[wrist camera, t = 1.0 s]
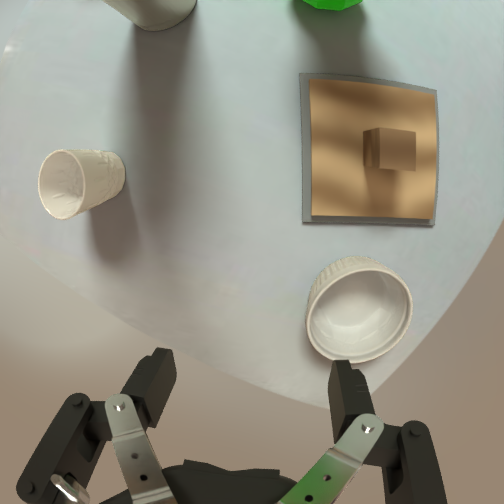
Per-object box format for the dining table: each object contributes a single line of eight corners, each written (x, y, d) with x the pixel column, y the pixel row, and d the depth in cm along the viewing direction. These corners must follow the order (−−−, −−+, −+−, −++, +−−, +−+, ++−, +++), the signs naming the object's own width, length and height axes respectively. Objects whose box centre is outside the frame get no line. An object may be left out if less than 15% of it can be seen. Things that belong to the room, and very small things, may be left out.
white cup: (105, 214, 37) (61, 233, 28) (76, 174, 36) (29, 184, 26) (140, 176, 35) (97, 187, 26) (108, 135, 34) (61, 135, 24)
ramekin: (404, 310, 38) (422, 337, 31) (324, 347, 41) (329, 378, 34) (378, 230, 34) (397, 247, 28) (286, 274, 38) (286, 300, 31)
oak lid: (308, 80, 29) (314, 63, 22) (430, 95, 27) (458, 87, 21) (310, 213, 34) (317, 228, 28) (429, 217, 32) (456, 232, 26)
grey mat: (299, 74, 29) (299, 72, 29) (434, 90, 27) (436, 90, 27) (302, 220, 35) (302, 221, 35) (432, 224, 33) (434, 225, 33)
